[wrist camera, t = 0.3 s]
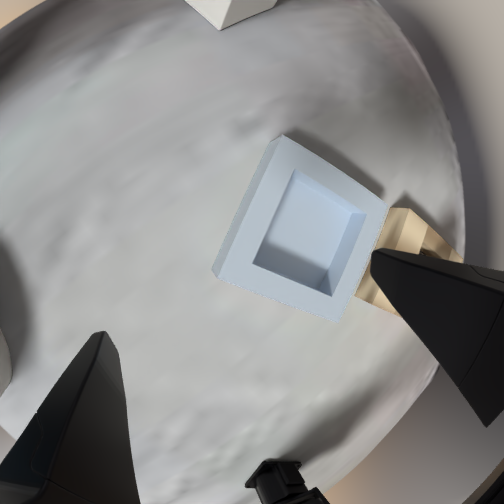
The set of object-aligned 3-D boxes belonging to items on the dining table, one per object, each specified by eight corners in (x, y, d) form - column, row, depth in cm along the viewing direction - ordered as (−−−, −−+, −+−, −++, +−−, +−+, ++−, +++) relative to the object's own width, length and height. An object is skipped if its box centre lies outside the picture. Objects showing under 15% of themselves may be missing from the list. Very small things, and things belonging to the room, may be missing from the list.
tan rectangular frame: (419, 324, 32) (435, 332, 30) (354, 295, 28) (372, 304, 25) (447, 255, 32) (463, 259, 29) (390, 207, 28) (409, 208, 25)
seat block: (322, 312, 27) (338, 323, 24) (211, 269, 23) (217, 278, 21) (368, 204, 27) (388, 204, 24) (269, 142, 23) (282, 134, 20)
